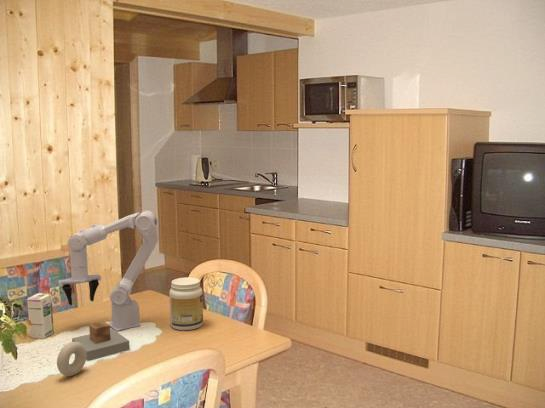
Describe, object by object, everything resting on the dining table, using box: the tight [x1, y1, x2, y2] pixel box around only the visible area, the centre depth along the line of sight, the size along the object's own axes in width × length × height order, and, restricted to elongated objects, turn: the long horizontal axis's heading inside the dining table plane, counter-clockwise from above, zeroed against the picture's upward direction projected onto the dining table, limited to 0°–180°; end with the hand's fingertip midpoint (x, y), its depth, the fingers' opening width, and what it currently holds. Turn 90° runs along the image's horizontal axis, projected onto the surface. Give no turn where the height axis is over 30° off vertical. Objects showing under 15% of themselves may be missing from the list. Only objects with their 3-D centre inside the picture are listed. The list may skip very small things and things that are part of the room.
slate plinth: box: [71, 328, 131, 362], centre depth 183 cm, size 14×14×3 cm
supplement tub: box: [168, 276, 204, 331], centre depth 203 cm, size 12×12×17 cm
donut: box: [56, 341, 87, 377], centre depth 163 cm, size 10×3×10 cm, turn 152°
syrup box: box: [26, 292, 55, 340], centre depth 194 cm, size 6×6×14 cm
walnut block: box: [88, 321, 111, 343], centre depth 183 cm, size 5×5×5 cm
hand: (81, 302), depth 201 cm, fingers open, 7 cm apart
